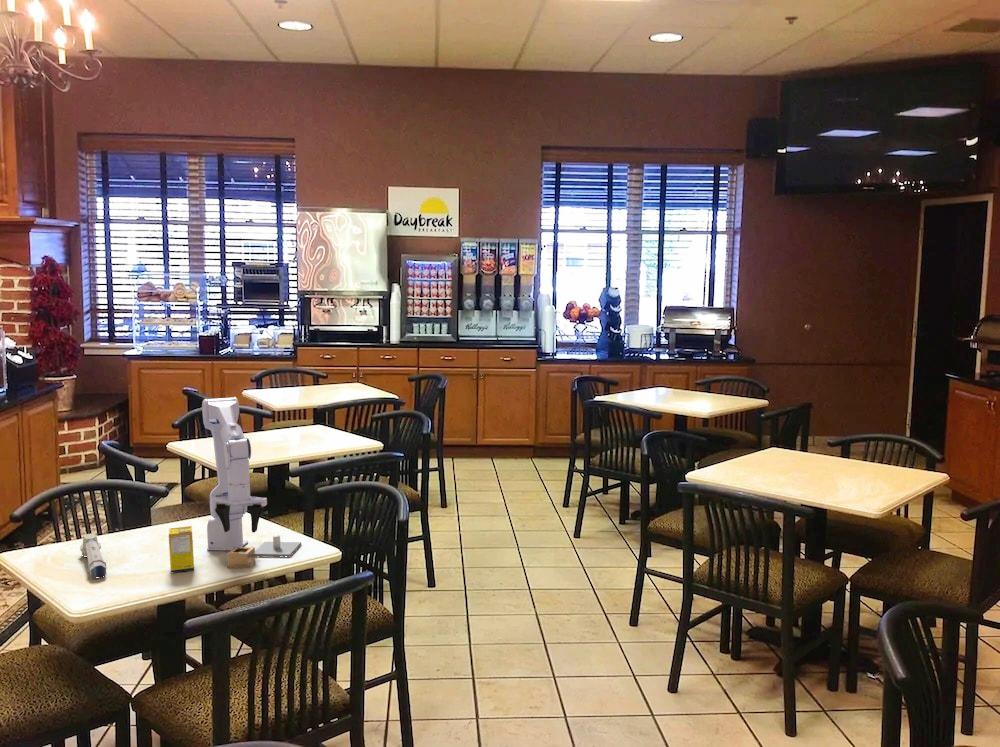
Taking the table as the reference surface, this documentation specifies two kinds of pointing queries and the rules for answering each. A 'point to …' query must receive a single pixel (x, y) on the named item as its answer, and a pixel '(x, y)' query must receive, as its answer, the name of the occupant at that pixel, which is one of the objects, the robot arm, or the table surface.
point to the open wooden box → (241, 557)
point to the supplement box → (181, 549)
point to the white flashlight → (93, 556)
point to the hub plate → (277, 548)
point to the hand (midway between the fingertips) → (240, 531)
